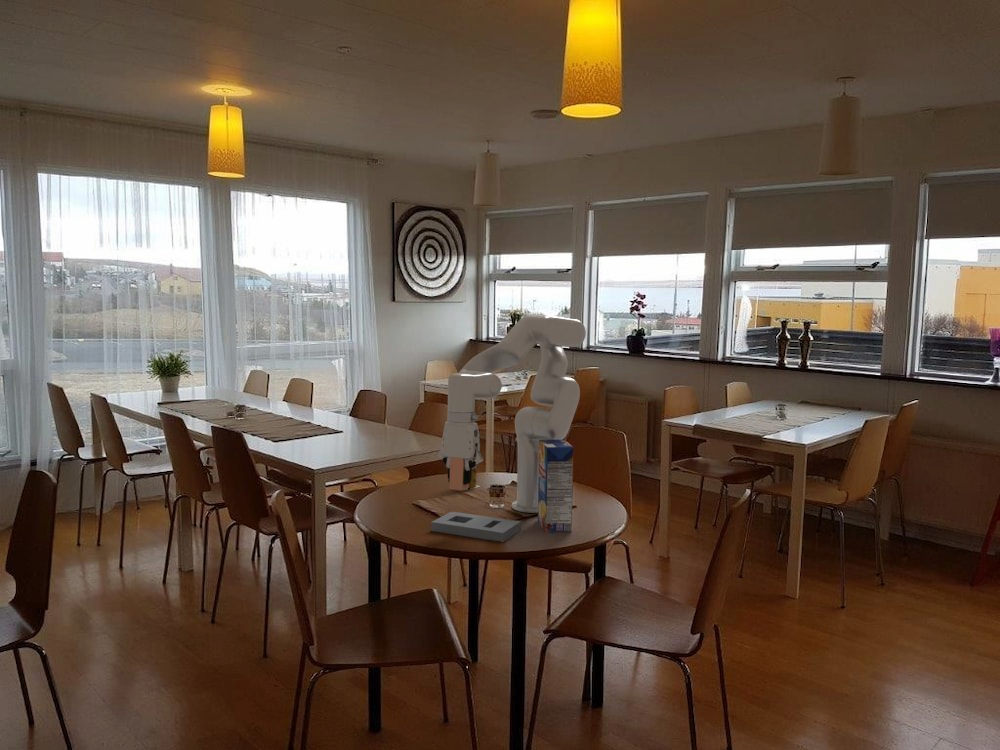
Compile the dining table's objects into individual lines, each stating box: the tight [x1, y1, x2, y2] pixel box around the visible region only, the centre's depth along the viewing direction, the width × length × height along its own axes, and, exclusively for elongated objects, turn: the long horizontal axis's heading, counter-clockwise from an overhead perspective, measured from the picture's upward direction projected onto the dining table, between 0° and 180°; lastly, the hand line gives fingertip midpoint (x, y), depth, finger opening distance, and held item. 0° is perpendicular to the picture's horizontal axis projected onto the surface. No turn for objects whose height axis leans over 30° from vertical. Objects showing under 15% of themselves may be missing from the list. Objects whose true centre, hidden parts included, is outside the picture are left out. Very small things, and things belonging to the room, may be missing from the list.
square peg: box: [449, 457, 469, 491], centre depth 213 cm, size 4×4×9 cm
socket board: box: [430, 511, 522, 543], centre depth 213 cm, size 12×22×2 cm, turn 65°
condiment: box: [464, 457, 482, 491], centre depth 263 cm, size 7×8×12 cm
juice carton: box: [537, 439, 575, 534], centre depth 217 cm, size 12×8×24 cm, turn 7°
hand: (459, 482), depth 213 cm, fingers closed on square peg, 4 cm apart
